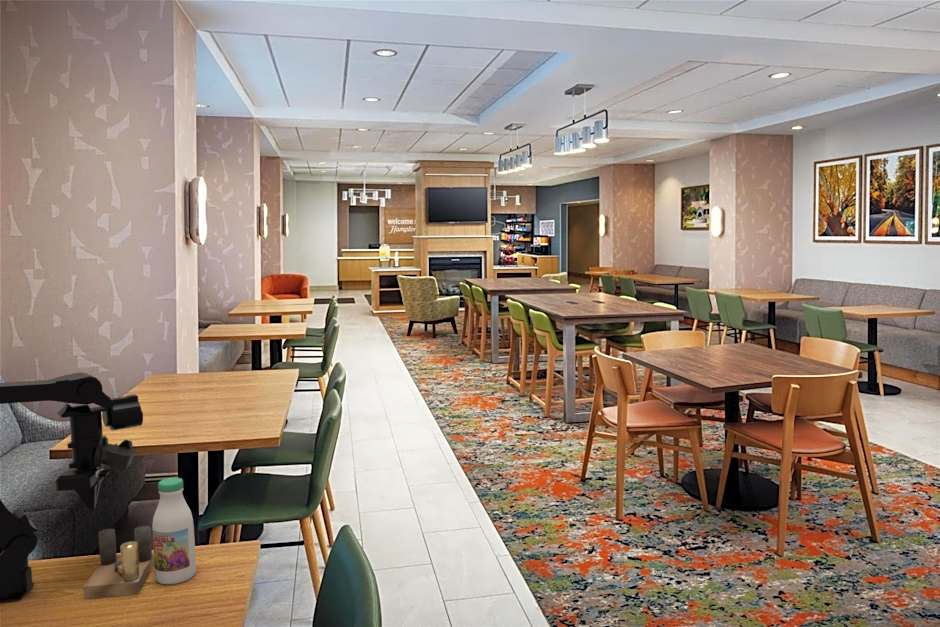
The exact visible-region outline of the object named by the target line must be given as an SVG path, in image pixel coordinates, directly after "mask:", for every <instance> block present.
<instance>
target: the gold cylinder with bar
mask: <svg viewBox="0 0 940 627" xmlns="http://www.w3.org/2000/svg"><path fill="white" fill-rule="evenodd" d="M119 548H120V558H121V564H122V565H120V566H118V572H120V573H121V574H122V579H123V580H125V581H129V580H134V579H136V578H138V577H139V576H140V574H139V558H138V543H137V542H135V540H134V541H126V542H124V543H122V544H121V545H120V547H119Z"/></svg>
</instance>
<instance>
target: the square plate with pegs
mask: <svg viewBox="0 0 940 627" xmlns="http://www.w3.org/2000/svg"><path fill="white" fill-rule="evenodd" d="M133 530H134V541H135V542H137V543H138V558H139V574H140V576H139V577H138V578H136V579H134V580H129V581H125V580H123V579H122V574H121V573H120V572H118V566H120V565H122V564H121V557H117V540H116V530H115V528H105V529H102V530H100V531H98V547H99V548H98V550H99V565H98V566H97V568H96V569H95V570H94V572H93V573H92V574H91V575H90V577H89V579H87V580H86V583H85V584H84V585H83V586H82V590H83V600H91V599H90V598H94V599H101V598H102V597H104V598H113V597H124V596H135V595H139V593H140V591H141V590H142V588H143V586H145V583H146V582H147V579H148V578H149V576H150V574H151V573H150V572H152V571H153V569H154V568H153V567H154V554H153V550H152V548H153V547H152V534H151V532H152V531H151V526H149V525H141V526H138V527H135V528H134V529H133ZM151 570H152V571H151Z"/></svg>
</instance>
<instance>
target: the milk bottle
mask: <svg viewBox="0 0 940 627" xmlns="http://www.w3.org/2000/svg"><path fill="white" fill-rule="evenodd" d="M157 488H158V494H159V501H158V505H157V508H156V510H155V511H154V515H153V518H152V527H151V528H152V548H153V550H152V554H153V558H154V568H153V569H154V579H155V581H156V583H157V582H158V583H159V584H162V585H175V584H176V585H177V584H180V583H183V582H186V581H188V580H190V579H191V578H193V577H194V576H195V575H196V571H197V563H196V561H197V560H196V542H195V541H196V540H195V526H194V519H193V514H192V510H191V509H190V507H189V505H188V504H187V502H186V499H185V497H184V494H183V491H184V479H183V478H182V477H181V478H180V477H169V478H168V477H166V478H164V479H162V480H159V481H158V484H157Z"/></svg>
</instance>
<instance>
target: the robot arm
mask: <svg viewBox="0 0 940 627" xmlns="http://www.w3.org/2000/svg"><path fill="white" fill-rule="evenodd" d="M47 401H49V402H58V403H64V405H63V407H62V408H60V409H59V410H58V411H57V412H56V413H57V416H59V417H60V418H62V419H63V418H64V419H65V418H69V432H70V441H69V442H68V443H67V449H68V450H70V449H71V459H72V460H71V462H70V463H68V467H69V470H66V471H65V472H63V473H62V474H61V475H60V476H58V478H57V479H56V480H54V481H55V490H56V491H58V492H61V491H75V492H76V494H77V495H78V496H79V498H80V500H81V501H82V502H83V504H84V505H85V506H86V508H87V510H89V511H91V510H92V511H93V510H95V509H96V507H97V502H98V498H99V494H100V488H101V484H102V481H103V479H104V478H105V477H107V475H108V474H109V473H110V472H111V470H110V469H104V467H102V466H103V465H105V466H108V467H111V468H115V469H117V470H120V471H126V470H127V469H128V467H130V466H131V464H132V462H133V459H134V456H135V455H136V448H134V446H133V442H132V440H129V439H124V440H122V441H121V443H120V444H118V443H114V444H113V443H109V438H108V437H107V435H103V433H104V432H103V425H104V427H105V428H108V427H109V429H110V430H111V431H118V430H123V429H131V428H136V427H141V426H142V425H143V421H144V412H143V411H142V408H141V404H140V402H139V396H138V395H137V394H134V393H132V394H129V395H125V396H119V397H113V398H111V396H109V395H107V394H106V393H105V392H104V390H103V384H102V383H101V381H100V380H99V379H98V378H97V377H95V376H93V375H91V374H89V373H86V372H80V371H79V372H74V373H70V374H64V375H60V376H57V377H54V378H50V379H45V380H27V381H24V380H23V381H9V382H8V381H6V382H0V405H4V404H5V405H6V404H16V403H35V402H47ZM70 404H76V405H75V406H73V405H72V406H71V405H70ZM90 404H93V405H96V406H95V407H90V406H89V405H90ZM37 532H39V529H38V528H37V527H36V526H35V524H34V523H33V521H32V520H31V519H29V518H28V516H27V514H26V512H24V510H23V509H22V508H21V506H19V507H17V508H16V509H15V510H14V511H13V510H12V509H11V508H9V507H8V506H7V505H6V504H5V503H4V502H3V501H2V499H1V498H0V603H3V602H4V603H5V602H14V601H15V602H16V601H21V600H22V599H23V598H24V597H25V596H26V594H27V593H28V592H29V591H30V590H31V589H32V588H33V587H34V585H35V584H34V582H33V575H32V567H31V566H29V555H30V554H31V553H32V552H34V550H35V548H36V547H37V545H38V540H39V539H38V536H37V534H36V533H37Z"/></svg>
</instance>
